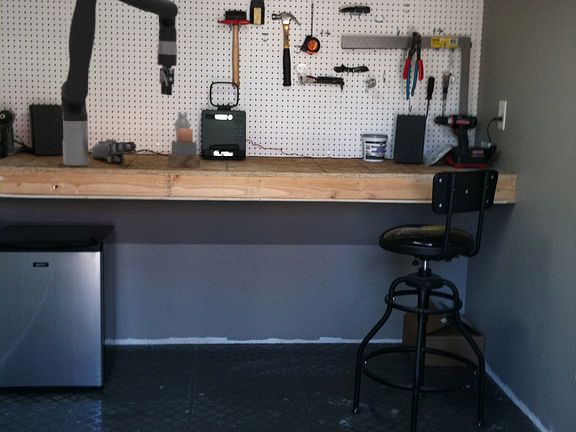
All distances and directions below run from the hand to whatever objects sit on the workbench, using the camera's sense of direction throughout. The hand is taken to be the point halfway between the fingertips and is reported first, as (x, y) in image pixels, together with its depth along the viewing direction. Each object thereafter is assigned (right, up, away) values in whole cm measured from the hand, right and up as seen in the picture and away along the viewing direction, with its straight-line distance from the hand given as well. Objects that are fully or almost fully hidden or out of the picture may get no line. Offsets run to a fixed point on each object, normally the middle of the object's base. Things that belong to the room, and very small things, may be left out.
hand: (166, 94), depth 303 cm
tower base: (+7, -29, 0) cm, 30 cm away
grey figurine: (+3, -24, +23) cm, 33 cm away
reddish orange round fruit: (+8, -19, -2) cm, 21 cm away
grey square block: (+7, -24, -1) cm, 25 cm away
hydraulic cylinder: (-24, -26, +8) cm, 36 cm away
